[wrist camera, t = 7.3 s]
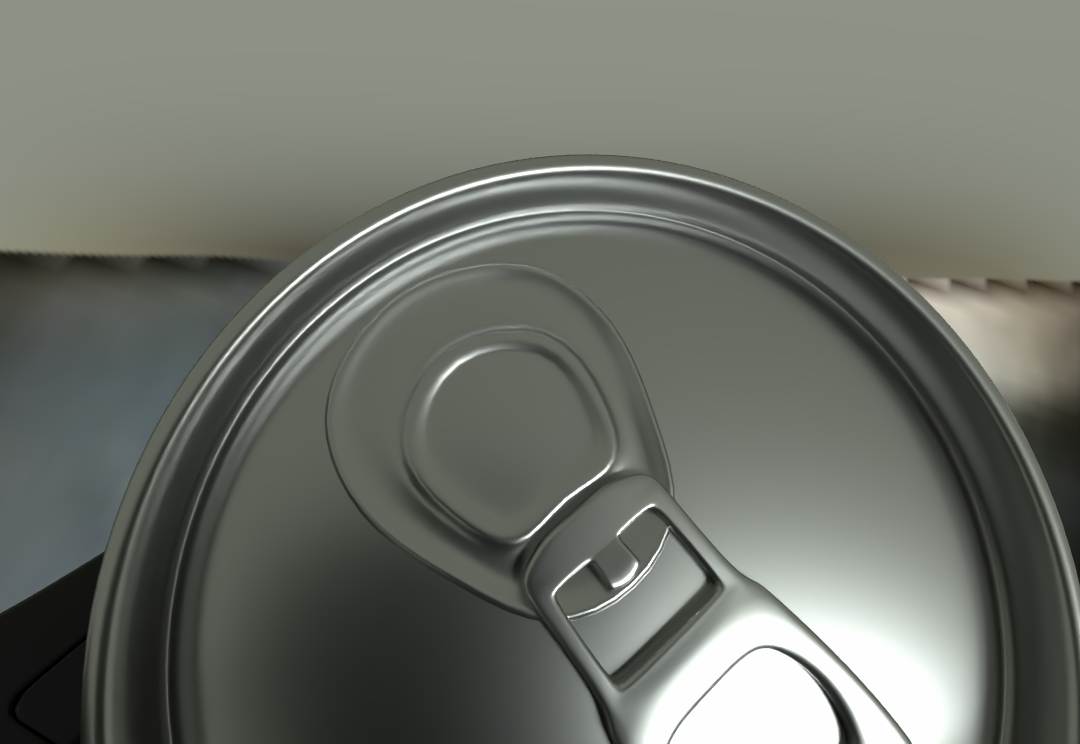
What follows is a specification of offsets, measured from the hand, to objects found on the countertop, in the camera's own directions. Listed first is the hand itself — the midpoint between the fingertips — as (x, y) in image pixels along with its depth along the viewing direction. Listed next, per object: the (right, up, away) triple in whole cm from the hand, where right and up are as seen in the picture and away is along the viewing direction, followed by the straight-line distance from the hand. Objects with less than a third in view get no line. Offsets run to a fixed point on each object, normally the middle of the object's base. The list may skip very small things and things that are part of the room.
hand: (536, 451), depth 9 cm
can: (-1, -3, +6) cm, 7 cm away
